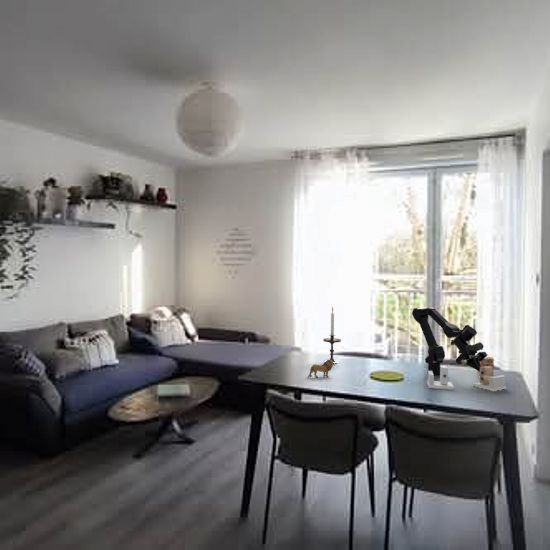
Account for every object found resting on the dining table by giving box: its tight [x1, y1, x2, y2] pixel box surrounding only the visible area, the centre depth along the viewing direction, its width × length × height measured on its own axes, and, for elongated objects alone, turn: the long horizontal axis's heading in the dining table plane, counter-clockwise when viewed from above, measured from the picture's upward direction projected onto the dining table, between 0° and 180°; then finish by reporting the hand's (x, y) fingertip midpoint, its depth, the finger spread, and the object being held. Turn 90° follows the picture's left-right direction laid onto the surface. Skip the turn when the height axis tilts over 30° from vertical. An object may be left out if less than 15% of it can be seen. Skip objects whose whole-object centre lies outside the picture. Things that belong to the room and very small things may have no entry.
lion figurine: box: [307, 358, 334, 378], centre depth 259 cm, size 15×5×9 cm, turn 112°
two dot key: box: [479, 366, 494, 384], centre depth 241 cm, size 3×6×8 cm, turn 120°
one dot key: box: [439, 364, 449, 384], centre depth 240 cm, size 3×6×8 cm, turn 167°
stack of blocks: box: [476, 354, 495, 377], centre depth 265 cm, size 21×6×12 cm, turn 162°
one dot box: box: [426, 370, 455, 390], centre depth 241 cm, size 12×10×6 cm
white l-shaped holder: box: [472, 374, 507, 392], centre depth 240 cm, size 12×10×6 cm
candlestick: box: [322, 306, 342, 362], centre depth 298 cm, size 11×11×35 cm
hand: (481, 371), depth 244 cm, fingers closed
